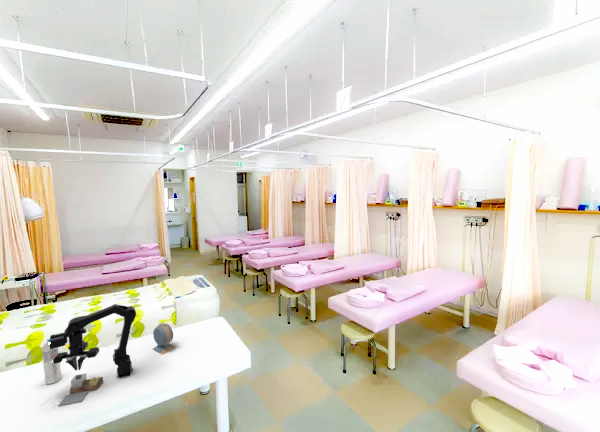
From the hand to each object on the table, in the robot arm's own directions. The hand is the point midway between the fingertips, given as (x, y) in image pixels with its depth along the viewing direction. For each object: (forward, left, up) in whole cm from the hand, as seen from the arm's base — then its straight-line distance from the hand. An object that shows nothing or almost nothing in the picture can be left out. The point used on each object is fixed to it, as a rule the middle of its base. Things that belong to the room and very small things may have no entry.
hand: (78, 369), depth 148 cm
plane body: (-3, 0, -11) cm, 12 cm away
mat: (0, +7, -11) cm, 13 cm away
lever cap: (0, 0, -8) cm, 8 cm away
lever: (-8, +2, -8) cm, 12 cm away
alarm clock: (-37, -29, -12) cm, 48 cm away
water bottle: (+18, -13, -12) cm, 25 cm away
